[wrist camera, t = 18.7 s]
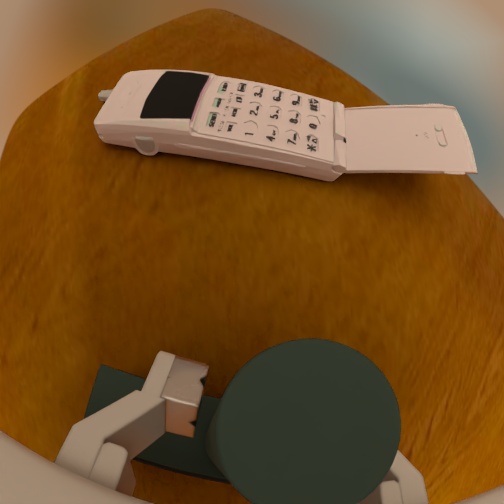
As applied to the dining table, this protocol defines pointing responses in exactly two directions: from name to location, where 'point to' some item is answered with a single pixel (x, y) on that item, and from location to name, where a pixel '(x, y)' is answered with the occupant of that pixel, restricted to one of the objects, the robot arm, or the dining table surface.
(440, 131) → the mobile phone
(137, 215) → the dining table surface
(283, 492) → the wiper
